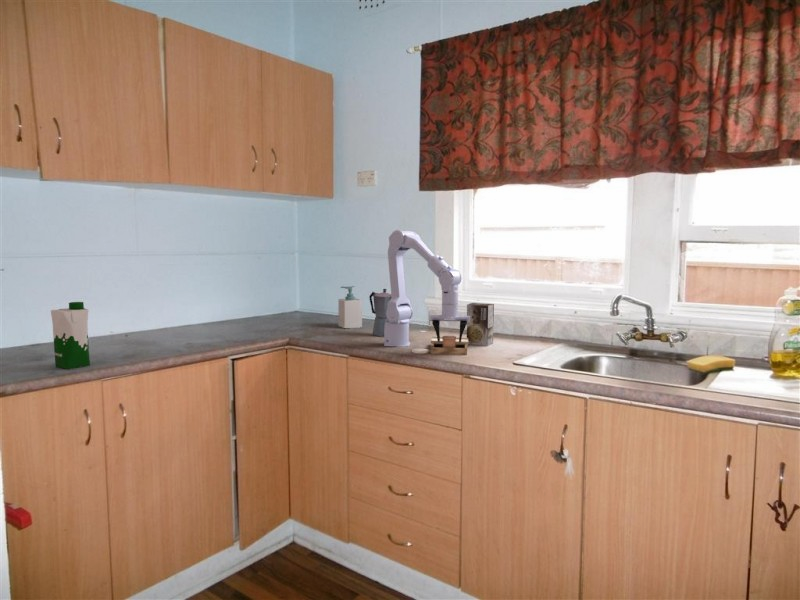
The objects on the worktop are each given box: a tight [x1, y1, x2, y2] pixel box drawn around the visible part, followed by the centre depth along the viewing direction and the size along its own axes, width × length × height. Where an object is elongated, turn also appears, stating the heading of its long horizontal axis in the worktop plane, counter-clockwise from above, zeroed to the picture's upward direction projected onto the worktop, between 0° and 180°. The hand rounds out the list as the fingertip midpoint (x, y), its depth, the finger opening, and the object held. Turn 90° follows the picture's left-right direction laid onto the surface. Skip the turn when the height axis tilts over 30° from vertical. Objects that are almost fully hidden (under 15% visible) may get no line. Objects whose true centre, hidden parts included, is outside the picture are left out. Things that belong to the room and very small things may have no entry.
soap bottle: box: [337, 285, 363, 329], centre depth 253 cm, size 9×9×19 cm
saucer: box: [411, 348, 430, 354], centre depth 198 cm, size 6×6×1 cm
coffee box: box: [466, 302, 495, 347], centre depth 213 cm, size 9×6×16 cm
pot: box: [441, 335, 457, 348], centre depth 197 cm, size 5×5×6 cm
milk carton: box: [50, 301, 91, 370], centre depth 171 cm, size 9×9×20 cm
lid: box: [430, 336, 469, 345], centre depth 205 cm, size 14×9×1 cm, turn 83°
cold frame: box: [429, 343, 468, 356], centre depth 201 cm, size 13×16×2 cm
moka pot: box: [369, 288, 392, 338], centre depth 232 cm, size 10×15×20 cm, turn 53°
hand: (449, 341), depth 197 cm, fingers open, 7 cm apart
